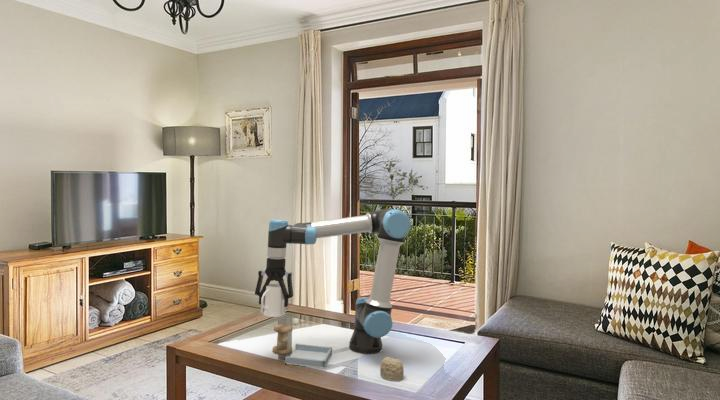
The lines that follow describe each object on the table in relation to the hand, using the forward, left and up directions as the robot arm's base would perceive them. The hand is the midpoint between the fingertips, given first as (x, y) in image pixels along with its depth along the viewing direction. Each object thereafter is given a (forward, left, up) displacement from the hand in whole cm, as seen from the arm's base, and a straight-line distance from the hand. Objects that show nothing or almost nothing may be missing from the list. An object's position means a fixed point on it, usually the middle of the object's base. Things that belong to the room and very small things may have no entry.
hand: (272, 313), depth 182 cm
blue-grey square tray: (-15, -6, -19) cm, 25 cm away
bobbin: (-2, -12, -19) cm, 22 cm away
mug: (+1, 0, -1) cm, 1 cm away
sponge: (-50, +2, -19) cm, 53 cm away
